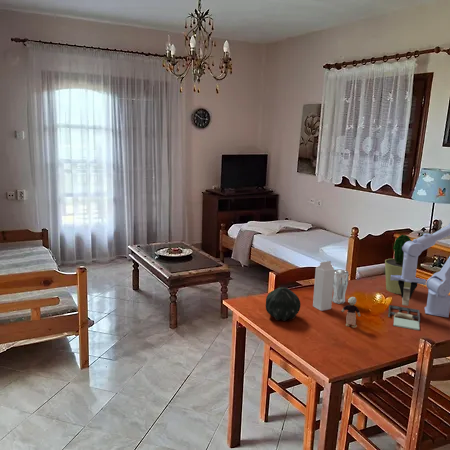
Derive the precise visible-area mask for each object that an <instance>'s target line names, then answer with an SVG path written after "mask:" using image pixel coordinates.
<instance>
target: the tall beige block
mask: <svg viewBox="0 0 450 450" xmlns="http://www.w3.org/2000/svg"><path fill="white" fill-rule="evenodd" d="M409 297H410V288H408V287H404V290H403V298H402V300H401V301H402V303H401V305H402V306H406V307H408V306H409V303H410V299H409Z"/></svg>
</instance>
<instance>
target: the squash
mask: <svg viewBox="0 0 450 450" xmlns="http://www.w3.org/2000/svg"><path fill="white" fill-rule="evenodd" d="M301 305H302V303H301V300H300V298H299V297H298V295H297V294H296V293H295V292H293V291H292V290H291V289H289V288H288V287H284V286H283V287H278V288H277V287H276V288H275V289H274V290H271V291H270V292H269V293H268V294H267V295H266V298H265V310H266V312H267V313H268V314H269V315H270V316H271V317H273V318H274V319H275V320H276V321H280V320H282V321H283V322H285V321H287V320H294V319H296V317H297V314H299V312H300V310H301Z"/></svg>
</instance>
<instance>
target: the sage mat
mask: <svg viewBox="0 0 450 450" xmlns="http://www.w3.org/2000/svg"><path fill="white" fill-rule="evenodd" d="M393 327H399V328H404V329H409V330H414V331H420V322H419V321H418V320H414V321H413V320H407V319H401V318H396V317H394V316H393Z"/></svg>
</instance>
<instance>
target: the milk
mask: <svg viewBox="0 0 450 450" xmlns="http://www.w3.org/2000/svg"><path fill="white" fill-rule="evenodd" d="M319 264H320V265H318V266H316V267H315V271H314V272H315V273H314V285H313V298H312V307H314V308H315V309H317V310H319V311H321V312H322V311H328V310H331V309H332V305H333V304H332V303H333V301H332V298H333V294H334V291H333V282H334V271H335V270H336V269H335V268H334V266H333V265H332V261H331V260H329V261H328V260H327V261H322V262H321V261H320V263H319Z"/></svg>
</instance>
